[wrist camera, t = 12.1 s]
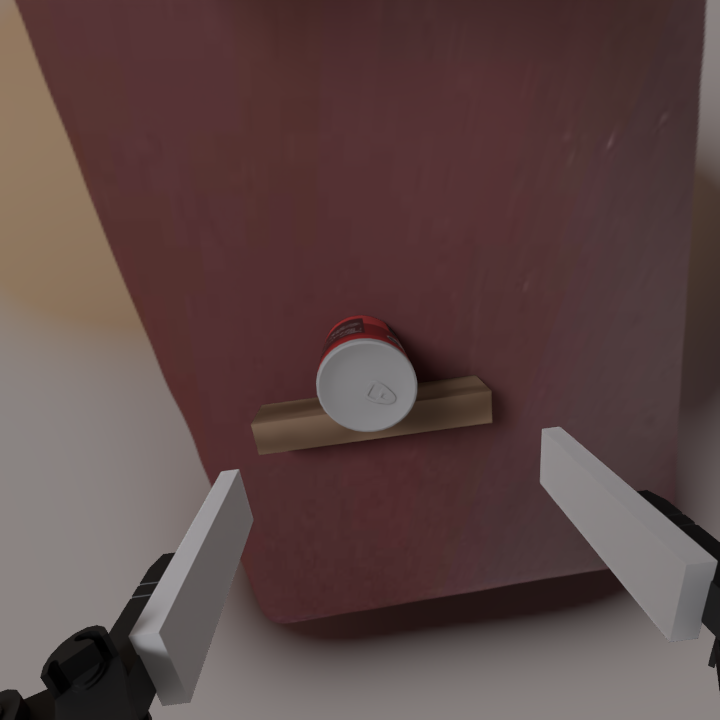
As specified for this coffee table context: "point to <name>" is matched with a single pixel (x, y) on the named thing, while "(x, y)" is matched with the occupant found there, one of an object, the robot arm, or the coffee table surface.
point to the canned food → (365, 375)
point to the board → (429, 413)
